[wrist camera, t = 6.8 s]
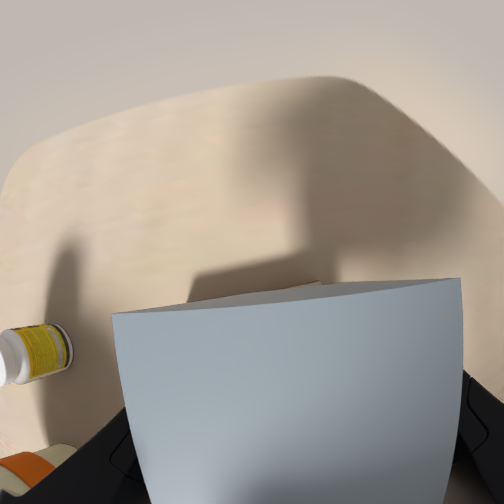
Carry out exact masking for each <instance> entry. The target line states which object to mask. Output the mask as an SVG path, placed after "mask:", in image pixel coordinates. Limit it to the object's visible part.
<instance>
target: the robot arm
mask: <svg viewBox="0 0 504 504" xmlns="http://www.w3.org/2000/svg"><path fill="white" fill-rule="evenodd" d="M470 377H471V376H470V375H469V374H468V373H467V372H466V371H465V370H464V369H463V376H462V392H461V404H460V414H459V423H458V430H457V437H456V444H455V450H454V455H453V461H452V466H451V471H450V475H449V480H448V484H447V488H446V492H445V496H444V500H443V504H504V404H503V403H502V402H501V401H499V400H498V399H497V398H496V397H494V396H493V395H492V394H491V393H490V392H489V391H487V390H486V389H485V388H484V387H483V386H482V385H481V384H479V383H478V382H477V381H476V380H475V379H474V378H473V377H471V378H470ZM0 504H152V503H151V500H150V497H149V494H148V491H147V487H146V484H145V481H144V478H143V474H142V471H141V468H140V464H139V461H138V457H137V453H136V449H135V446H134V442H133V438H132V434H131V429H130V425H129V421H128V416H127V412H126V407H124V408H123V409H122V410H121V411H120V412H119V413H118V414H117V415H116V416H115V417H114V418H113V419H112V420H111V421H110V422H109V423H108V424H107V425H106V426H105V427H104V428H103V429H101V430H100V431H99V432H98V433H97V434H96V435H95V436H94V437H93V438H91V439H90V440H89V441H88V442H87V443H85V444H84V445H83V446H82V447H81V448H79V449H78V450H77V451H76V452H75V453H74V454H72V455H71V456H70V457H69V458H68V459H66V460H65V461H64V462H63V463H61V464H60V465H59V466H58V467H57V468H55V469H54V470H53V471H52V472H51V473H49V474H48V475H47V476H46V477H44V478H43V479H42V480H41V481H39V482H38V483H37V484H36V485H34V486H33V487H32V488H31V489H29V490H28V491H27V492H26V493H24V494H23V495H20V494H18V493H15V492H13V491H11V490H8V489H5V488H2V489H1V490H0Z"/></svg>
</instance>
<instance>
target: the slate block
mask: <svg viewBox="0 0 504 504" xmlns="http://www.w3.org/2000/svg"><path fill="white" fill-rule="evenodd" d="M111 316H112V325H113V334H114V341H115V349H116V356H117V362H118V369H119V375H120V381H121V386H122V392H123V397H124V402H125V407H126V412H127V416H128V421H129V425H130V429H131V434H132V438H133V442H134V446H135V449H136V453H137V457H138V461H139V464H140V468H141V471H142V474H143V478H144V481H145V484H146V487H147V491H148V494H149V497H150V500H151V503H152V504H443V500H444V496H445V492H446V488H447V484H448V480H449V475H450V471H451V466H452V461H453V455H454V450H455V444H456V437H457V430H458V423H459V414H460V404H461V392H462V376H463V310H462V294H461V282H460V278H445V279H423V280H397V281H366V282H343V283H334V284H326V285H318V286H309V287H300V288H291V289H282V290H272V291H262V292H252V293H245V294H239V295H233V296H227V297H221V298H215V299H209V300H203V301H197V302H190V303H184V304H177V305H171V306H164V307H157V308H150V309H143V310H136V311H129V312H122V313H114V314H111Z"/></svg>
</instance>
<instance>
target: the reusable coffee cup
mask: <svg viewBox="0 0 504 504" xmlns="http://www.w3.org/2000/svg"><path fill="white" fill-rule="evenodd" d="M77 450H78V449H76V448H74V447H72V446H70V445H67V444H56V445H54V446H51V447H48V448H45V449H43V450H40V451H37V452H34V453H31V452H21V453H18V454H15V455H12V456H8V457H5V458H2V459H0V490H1V489H2V488H5V489H8V490H11V491H13V492H15V493H18V494H20V495H23V494H24V493H26V492H27V491H28V490H29V489H31V488H32V487H33V486H34V485H36V484H37V483H38V482H39V481H41V480H42V479H43V478H44V477H46V476H47V475H48V474H49V473H51V472H52V471H53V470H54V469H55V468H57V467H58V466H59V465H60V464H61V463H63V462H64V461H65V460H66V459H68V458H69V457H70V456H71V455H72V454H74V453H75V452H76V451H77Z"/></svg>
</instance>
